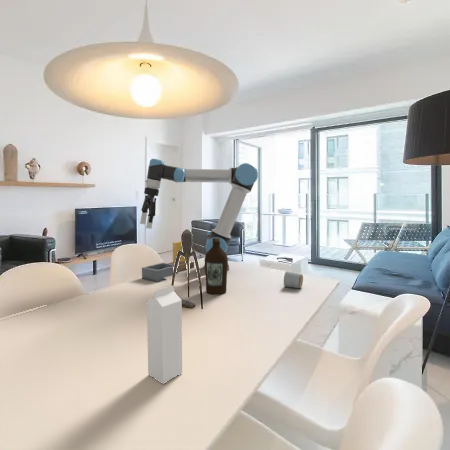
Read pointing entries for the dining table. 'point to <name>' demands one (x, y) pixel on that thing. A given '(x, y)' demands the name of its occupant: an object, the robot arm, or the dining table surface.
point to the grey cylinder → (293, 279)
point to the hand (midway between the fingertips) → (145, 226)
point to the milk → (164, 334)
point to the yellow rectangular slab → (176, 248)
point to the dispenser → (183, 266)
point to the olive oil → (216, 269)
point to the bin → (157, 272)
